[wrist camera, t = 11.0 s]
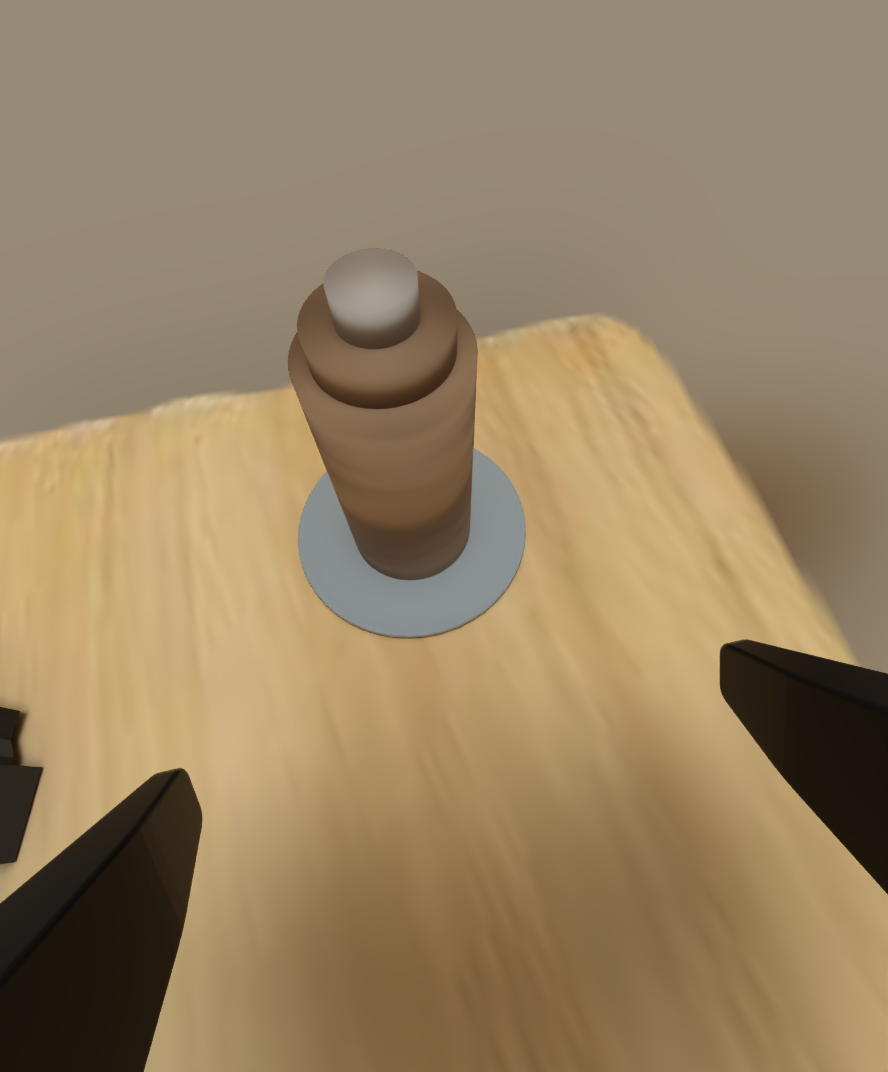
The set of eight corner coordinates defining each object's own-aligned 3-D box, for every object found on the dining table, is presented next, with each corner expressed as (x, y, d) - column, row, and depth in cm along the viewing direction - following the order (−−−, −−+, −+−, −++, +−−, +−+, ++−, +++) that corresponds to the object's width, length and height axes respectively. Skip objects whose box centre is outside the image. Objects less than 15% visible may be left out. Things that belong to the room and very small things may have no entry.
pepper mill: (483, 564, 24) (508, 333, 12) (364, 592, 24) (269, 379, 12) (454, 468, 27) (450, 197, 15) (346, 491, 26) (252, 230, 14)
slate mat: (499, 664, 22) (500, 662, 22) (264, 606, 24) (261, 603, 24) (541, 460, 27) (542, 455, 27) (344, 422, 29) (342, 417, 28)
